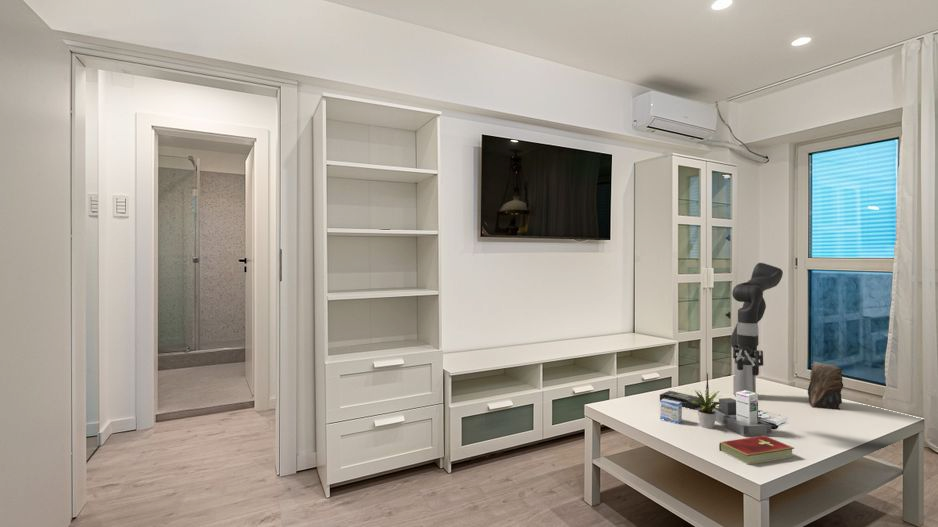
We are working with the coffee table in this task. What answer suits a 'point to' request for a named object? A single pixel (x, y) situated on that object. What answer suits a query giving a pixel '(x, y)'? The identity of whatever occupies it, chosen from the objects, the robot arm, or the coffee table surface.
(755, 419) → the syrup box
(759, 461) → the hardcover book
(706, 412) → the house plant
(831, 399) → the brown rock
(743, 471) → the coffee table surface
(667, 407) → the medicine box
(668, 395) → the black wifi router
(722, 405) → the grey desk organizer
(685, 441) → the coffee table surface
